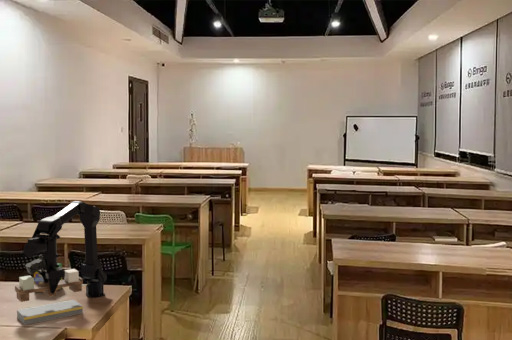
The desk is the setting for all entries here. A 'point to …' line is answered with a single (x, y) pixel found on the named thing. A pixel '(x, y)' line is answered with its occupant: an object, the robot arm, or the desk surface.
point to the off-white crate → (71, 275)
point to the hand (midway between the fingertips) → (50, 291)
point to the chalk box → (39, 279)
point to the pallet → (48, 289)
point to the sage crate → (26, 283)
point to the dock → (49, 312)
